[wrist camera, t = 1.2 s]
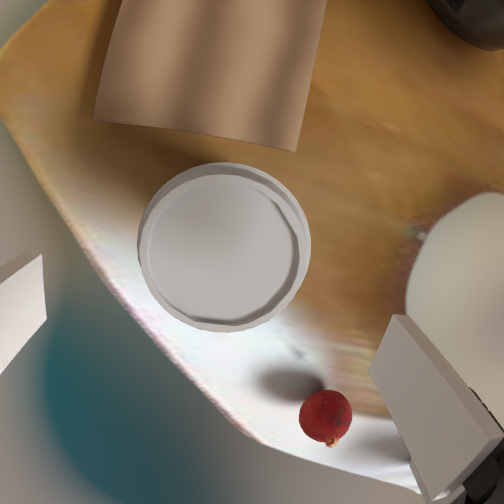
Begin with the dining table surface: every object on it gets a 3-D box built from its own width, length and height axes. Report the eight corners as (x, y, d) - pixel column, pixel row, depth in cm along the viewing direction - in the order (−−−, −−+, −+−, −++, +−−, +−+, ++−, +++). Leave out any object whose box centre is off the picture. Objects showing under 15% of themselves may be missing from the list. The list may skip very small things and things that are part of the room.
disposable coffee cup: (152, 222, 28) (101, 276, 16) (216, 132, 25) (201, 124, 14) (239, 282, 30) (241, 365, 19) (306, 200, 28) (352, 242, 16)
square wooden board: (323, -10, 21) (331, -24, 18) (289, 151, 26) (295, 152, 23) (149, -34, 19) (141, -48, 17) (106, 122, 24) (92, 120, 22)
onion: (310, 370, 34) (326, 423, 26) (351, 381, 35) (372, 430, 27) (286, 404, 35) (295, 457, 28) (326, 413, 36) (340, 462, 29)
